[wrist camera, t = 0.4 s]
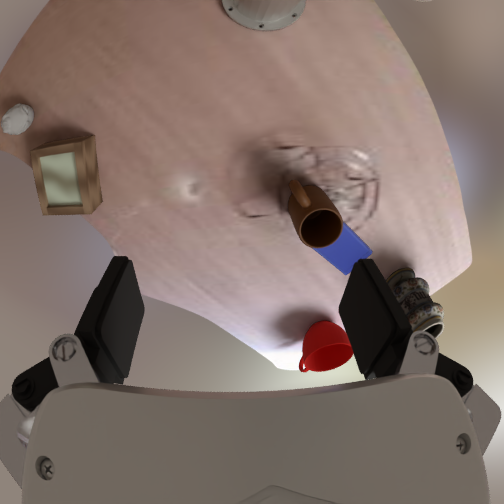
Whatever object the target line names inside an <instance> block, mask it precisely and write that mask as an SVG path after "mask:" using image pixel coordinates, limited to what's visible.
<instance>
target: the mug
mask: <svg viewBox="0 0 504 504" xmlns="http://www.w3.org/2000/svg"><path fill="white" fill-rule="evenodd" d="M289 187H290V190H291V191H292V193H293V194H292V195H291V196H290V198H289V202H288V210H289V214H290V216H291V219H292V222H293V224H294V227H295V230H296V232H297V234H298V236H299V238H300V240H301V241H302V242H303V243H304V244H305V245H307V246H309V247H311V248H324V247H327V246H329V245H331V244H333V243H334V242H335V241H336V240H337V239H338V238H339V237H340V235H341V233H342V230H343V220H342V217H341V215H340V213H339V211H338V210H337V208H336V207H335V205H334V204H333V203H332V201H331V200H330V199H329V197H328V196H327V195H326V193H325V192H324V191H323V190H322V189H320V188H318V187H316V186H311V185H307V186H303V187H302V186H301V184H300V183H299V181H298V180H291V181H290V183H289Z"/></svg>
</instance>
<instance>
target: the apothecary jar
mask: <svg viewBox="0 0 504 504" xmlns="http://www.w3.org/2000/svg"><path fill="white" fill-rule="evenodd" d="M386 282H387V283H388V285H389V287H390V288H391V290H392V292H393V294H394V295H395V297H396V299H397V300H398V302H399V304H400V306H401V307H402V309H403V311H404V313H405V315H406V316H407V318H408V320H409V322H410V324H411V326H412V331H413V333H414V332H416V331H425V332H428V333H429V334H431V335H432V336H433V337H434V338H435V339H436V338H437V337H438V336H439V335H440V334H441V333H442V332H443V330H444V323H443V317H444V311H443V308H442V306H441V305H440V304H438V303H434V302H433V301H432V299H431V298H430V296H429V285H428V283H427V282H426V281H425V280H424V279H422V278H415V273H414V271H413V270H412V269H410V268H403V269H400V270H398V271H396V272H394V273H393V274H392V275H391V276H390V277H389V278H388V279H387V280H386Z"/></svg>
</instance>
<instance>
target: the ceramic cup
mask: <svg viewBox="0 0 504 504" xmlns="http://www.w3.org/2000/svg"><path fill="white" fill-rule="evenodd" d="M302 352H303V356H302V358H301V360H300V363H299V369H300V371H301V372H307V371H308V370H311V371H316V372H321V371H328V370H331V369H335V368H337V367H339V366H341V365H343V364H344V363H346V362H347V361H348V360H349V359H350V358H351V357H352V355H353V350H352V347H351V344H350V342H349V339H348V336H347V334H346V332H345V331H344V330H343V329H342V328H341V327H340V326H338V325H337V324H335V323H332V322H330V321H320V322H317V323H315V324H313V325H312V326H311V327H310V329H309V330H308V332H307V333H306V335H305V338H304V340H303V348H302ZM303 364H304V365H305V367H306V368H305V369H304V370H303Z"/></svg>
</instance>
